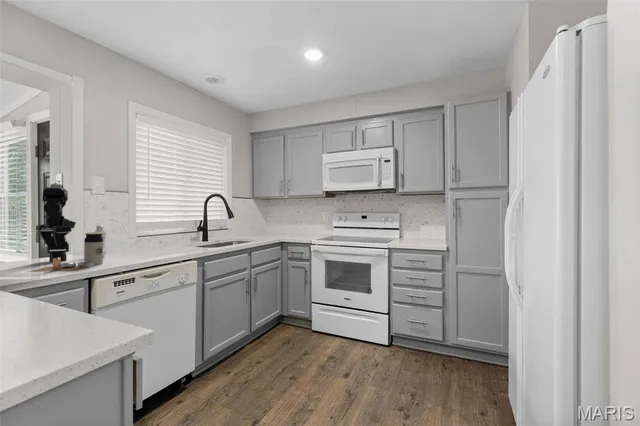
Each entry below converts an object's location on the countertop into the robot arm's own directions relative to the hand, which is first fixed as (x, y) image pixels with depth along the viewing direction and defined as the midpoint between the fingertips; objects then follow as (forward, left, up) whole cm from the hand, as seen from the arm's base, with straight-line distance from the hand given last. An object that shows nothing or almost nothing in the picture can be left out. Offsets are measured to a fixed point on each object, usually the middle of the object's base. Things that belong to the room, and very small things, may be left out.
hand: (53, 246), depth 145 cm
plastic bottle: (-5, +49, -13) cm, 51 cm away
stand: (+2, +3, -12) cm, 13 cm away
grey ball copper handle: (+3, +3, -11) cm, 12 cm away
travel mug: (+10, +15, -13) cm, 22 cm away
